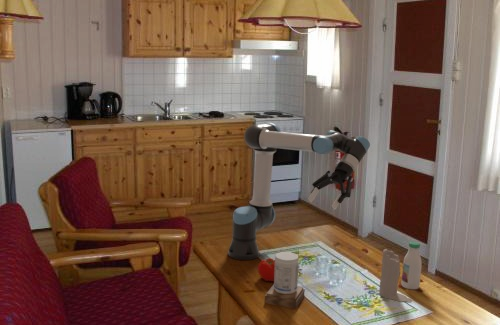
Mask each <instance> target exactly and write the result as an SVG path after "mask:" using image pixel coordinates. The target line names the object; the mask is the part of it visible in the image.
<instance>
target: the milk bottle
mask: <svg viewBox="0 0 500 325" xmlns="http://www.w3.org/2000/svg"><path fill="white" fill-rule="evenodd" d="M420 247H421V244H420V242H417V241H409V243H408V251H407V253H406V254H405V256H404V258H403V264H402V272H401V273H402V274H401V284H400V285H401V287H402V288H405V289H408V290H418V289H419V288H420V283H421V276H422V275H421V274H422V262H423V261H422V257H421V254H420Z"/></svg>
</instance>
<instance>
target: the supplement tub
mask: <svg viewBox="0 0 500 325" xmlns="http://www.w3.org/2000/svg"><path fill="white" fill-rule="evenodd" d="M274 257H275V258H274V260H275V271H274V281H273V285H274V289H275V291H277V292H278V293H281V294H292V293H294V292H296V291H297V286H298V281H299V255H298V254H296V253H294V252H290V251H281V252H277V253H276V254H275V256H274Z"/></svg>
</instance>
